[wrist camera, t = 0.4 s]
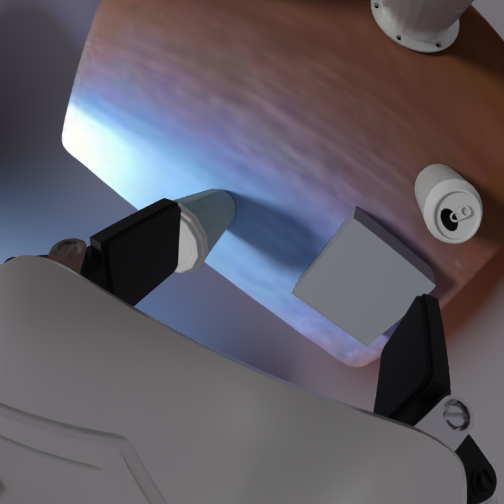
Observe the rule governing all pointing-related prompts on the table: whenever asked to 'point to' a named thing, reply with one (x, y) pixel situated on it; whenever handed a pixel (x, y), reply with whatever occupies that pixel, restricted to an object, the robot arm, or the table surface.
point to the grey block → (364, 279)
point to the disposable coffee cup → (202, 225)
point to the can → (448, 203)
